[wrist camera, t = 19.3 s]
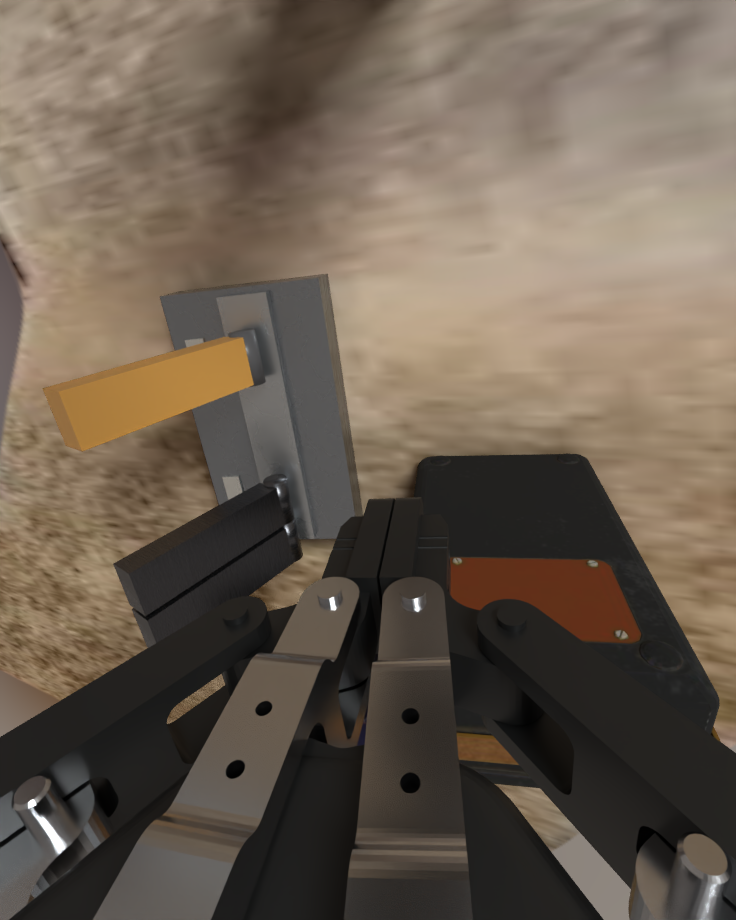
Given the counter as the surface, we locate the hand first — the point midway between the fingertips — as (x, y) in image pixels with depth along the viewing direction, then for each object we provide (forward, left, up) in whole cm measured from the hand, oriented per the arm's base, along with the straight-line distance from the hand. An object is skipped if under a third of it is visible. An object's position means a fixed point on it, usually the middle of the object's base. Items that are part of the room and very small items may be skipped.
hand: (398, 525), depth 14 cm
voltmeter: (+15, +5, -29) cm, 33 cm away
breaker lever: (0, -14, -24) cm, 28 cm away
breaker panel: (+7, -15, -29) cm, 33 cm away
